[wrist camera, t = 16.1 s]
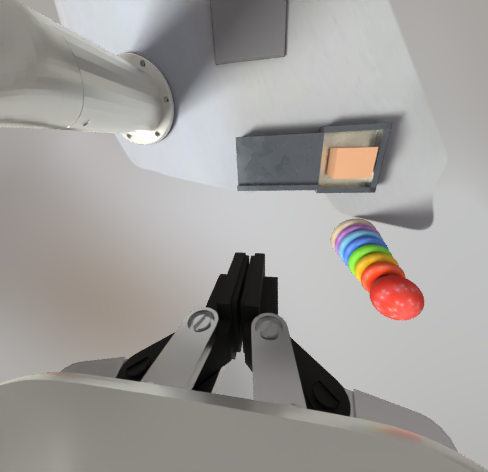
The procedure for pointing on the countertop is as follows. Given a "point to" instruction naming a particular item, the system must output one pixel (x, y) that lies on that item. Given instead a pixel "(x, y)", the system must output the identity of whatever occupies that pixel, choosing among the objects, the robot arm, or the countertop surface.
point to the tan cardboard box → (351, 162)
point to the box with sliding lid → (307, 159)
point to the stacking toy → (377, 269)
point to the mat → (248, 29)
